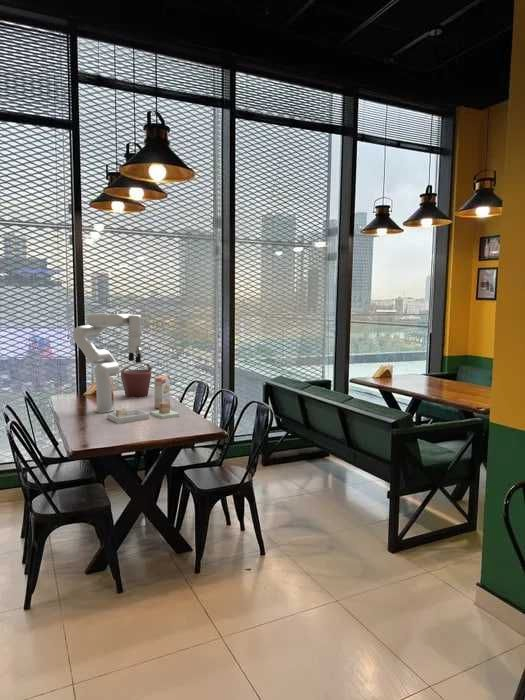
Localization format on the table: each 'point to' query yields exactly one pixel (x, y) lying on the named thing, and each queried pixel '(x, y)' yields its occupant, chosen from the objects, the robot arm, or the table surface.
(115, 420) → the bin
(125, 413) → the plain block
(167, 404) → the labelled block
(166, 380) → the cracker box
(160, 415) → the board
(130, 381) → the bucket
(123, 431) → the table surface
